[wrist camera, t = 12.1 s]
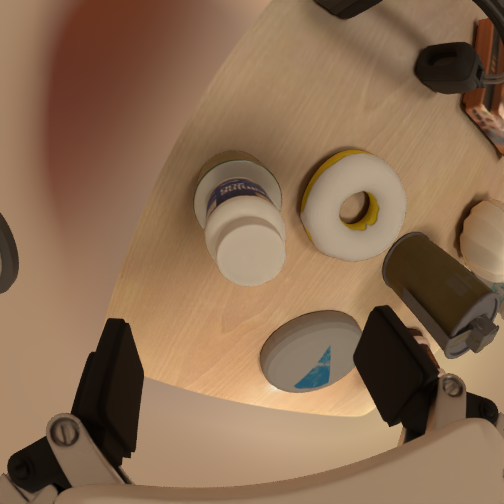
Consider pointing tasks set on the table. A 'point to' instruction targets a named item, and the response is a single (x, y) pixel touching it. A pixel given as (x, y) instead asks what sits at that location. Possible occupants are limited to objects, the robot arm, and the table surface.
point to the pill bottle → (244, 232)
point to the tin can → (230, 167)
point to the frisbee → (311, 351)
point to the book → (489, 85)
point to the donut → (338, 190)
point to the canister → (442, 295)
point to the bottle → (500, 288)
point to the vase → (485, 240)
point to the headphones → (442, 50)
